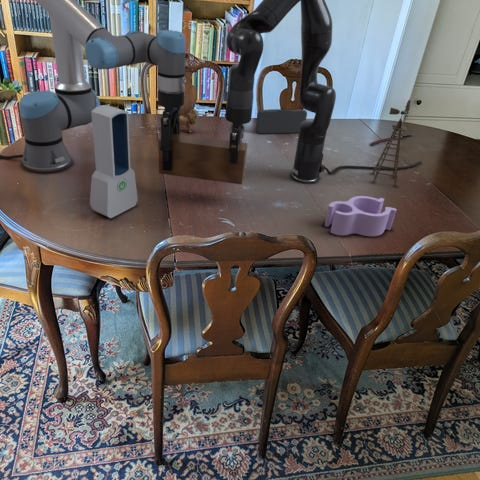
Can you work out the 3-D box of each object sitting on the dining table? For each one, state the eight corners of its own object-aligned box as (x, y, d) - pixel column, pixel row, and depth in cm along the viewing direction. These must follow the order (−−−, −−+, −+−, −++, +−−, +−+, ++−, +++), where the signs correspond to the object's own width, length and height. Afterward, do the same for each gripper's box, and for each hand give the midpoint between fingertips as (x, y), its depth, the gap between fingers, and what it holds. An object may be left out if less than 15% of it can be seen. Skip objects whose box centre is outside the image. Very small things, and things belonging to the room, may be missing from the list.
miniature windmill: (395, 186, 170) (420, 105, 154) (372, 182, 171) (394, 101, 155) (394, 176, 177) (417, 97, 161) (371, 173, 178) (392, 94, 162)
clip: (337, 240, 135) (342, 219, 131) (318, 218, 145) (322, 198, 141) (395, 233, 141) (402, 213, 137) (373, 213, 151) (378, 194, 147)
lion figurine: (196, 128, 202) (197, 107, 197) (199, 132, 198) (200, 111, 193) (162, 129, 197) (162, 108, 192) (165, 133, 193) (165, 112, 188)
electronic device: (108, 220, 133) (101, 117, 116) (89, 211, 136) (79, 109, 119) (138, 204, 142) (135, 106, 125) (120, 196, 145) (115, 100, 129)
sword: (408, 133, 222) (409, 131, 221) (413, 135, 220) (414, 133, 219) (365, 145, 206) (365, 142, 205) (370, 147, 204) (371, 145, 203)
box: (158, 173, 144) (158, 139, 138) (163, 165, 149) (163, 132, 143) (241, 184, 142) (245, 150, 136) (244, 176, 147) (247, 143, 141)
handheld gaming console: (301, 130, 212) (305, 108, 207) (304, 132, 210) (308, 110, 205) (254, 131, 205) (257, 109, 200) (256, 134, 203) (259, 111, 197)
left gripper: (175, 101, 124) (174, 180, 136) (191, 83, 140) (188, 155, 153) (148, 98, 124) (149, 176, 137) (166, 80, 141) (166, 152, 153)
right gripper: (249, 113, 126) (244, 170, 135) (255, 98, 138) (249, 151, 147) (222, 109, 126) (218, 166, 135) (230, 95, 138) (226, 148, 147)
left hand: (170, 165), depth 145 cm, fingers open, 6 cm apart
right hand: (234, 158), depth 141 cm, fingers closed on box, 6 cm apart
